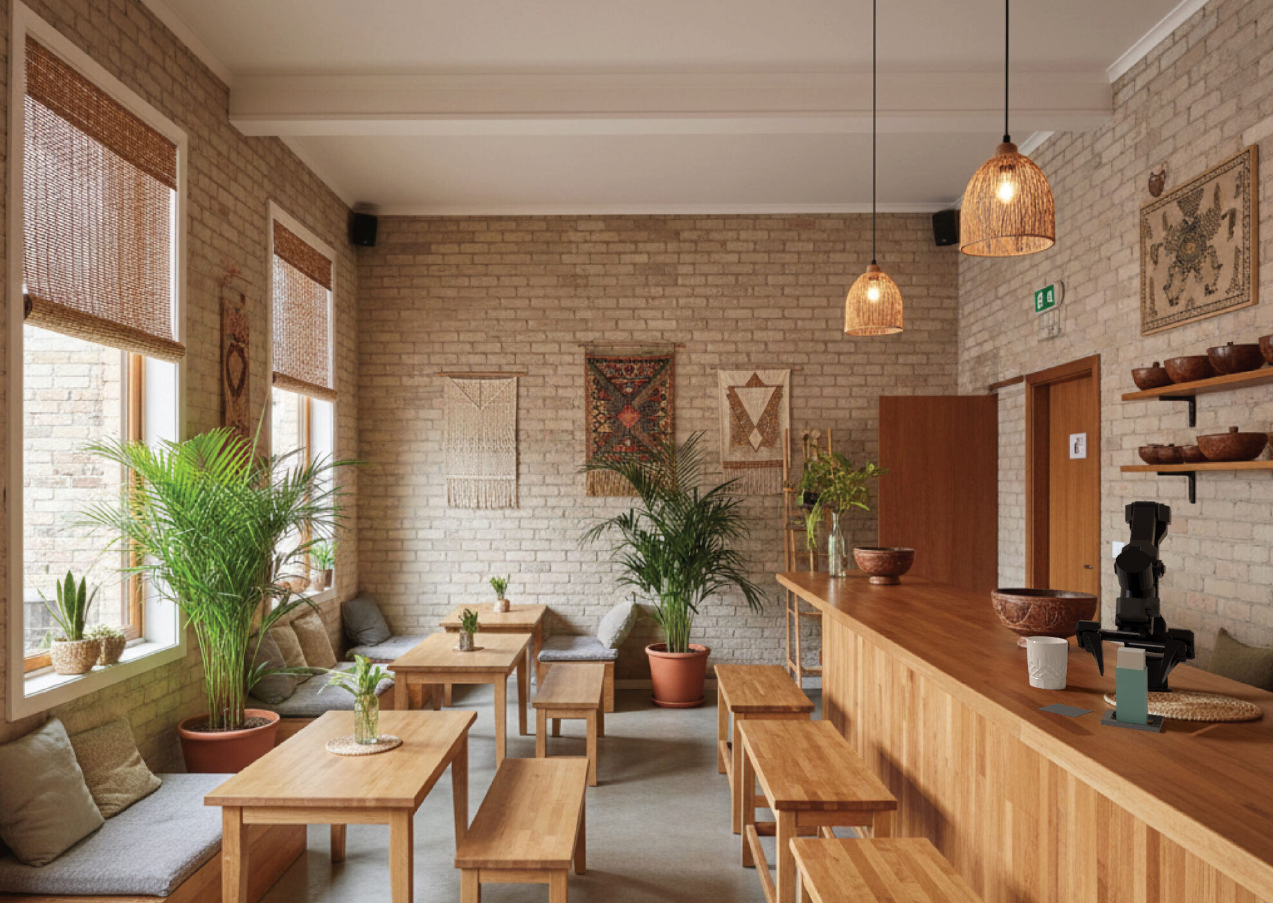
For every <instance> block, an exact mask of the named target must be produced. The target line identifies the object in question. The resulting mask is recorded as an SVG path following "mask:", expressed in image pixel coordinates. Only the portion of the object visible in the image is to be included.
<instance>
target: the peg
mask: <svg viewBox="0 0 1273 903" xmlns="http://www.w3.org/2000/svg"><path fill="white" fill-rule="evenodd" d="M1116 652H1117V654H1116V657H1117V658H1116V660H1117V663H1116V666H1115V706H1116V707H1115V708H1116V709H1115V710H1116V716H1115V717H1116V719H1115V720H1120V721H1127V722H1134V723H1141V724H1148V723H1149V720H1148V714H1149V701H1148V700H1149V697H1148V696H1149V693H1148V692H1149V690H1148V682H1147V666H1145V649H1136V648H1126V647H1124V646H1119V647H1118V649H1117V651H1116Z"/></svg>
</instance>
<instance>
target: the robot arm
mask: <svg viewBox="0 0 1273 903" xmlns="http://www.w3.org/2000/svg"><path fill="white" fill-rule="evenodd" d="M1124 523H1126V525H1129V526H1128V527H1129V531H1130V538H1129V543H1127V544H1126V545H1124V546H1122V547H1121V550H1120V553H1119V554H1118V555H1117V556H1116V557H1115V561H1114V562H1113V569H1114V574H1115V575H1116V576H1117V580H1118V581H1117V583H1118V585H1119V587H1120V595H1119V597H1116V600H1115V615H1114V625H1115V627H1116V629H1108V628H1107V629H1105V628H1102V626H1101V621H1099V620H1098V621H1096V620H1086V619H1085V620H1083V619H1080V620H1078V621H1077V622H1076V623H1075V628H1074V632H1075V636H1076V641H1077V646H1078V647H1079V648H1080V649H1082V650H1083V649H1084V650H1085V652H1087V653H1090V654H1091V655H1092V656H1093V658H1094V660H1095V662H1096V665H1097V668H1098V671H1099V676H1101V677H1104V674H1105V662H1104V661H1105V658H1104V657H1105V656H1104V648H1103V641H1105V642H1113V643H1114V642H1116V643H1123V647H1126V648H1136V649H1145V666H1147V682H1148V691H1155V690H1161V691H1160V692H1164V691H1165V692H1172V691H1173V689H1172V688H1171V687H1170V686H1169V675H1170V673H1171V672H1172V671H1173V669H1175V668H1176V667H1177V666H1178V665H1179V663H1186V662H1187V660H1195V659H1196V639H1195V636H1196V635H1195V632H1194V631H1193V630H1192V629H1190V628H1180V627H1179V628H1178V627H1168V624H1167V623H1166V619H1164V617H1163V615H1162V614H1161V597H1160V579H1163V577H1164V575H1165V574H1166V572H1167V566H1166V565H1165V564H1164V562H1163V559H1160V545H1161V544H1162V543H1163V541H1164V540H1165V538H1166V537H1167V536H1168V534H1169V526H1172V508H1171V506H1170V505H1166V504H1165V503H1163V502H1156V501H1155V500H1154V501H1153V500H1135V501H1131V503H1128V504H1125V505H1124Z"/></svg>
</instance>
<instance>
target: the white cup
mask: <svg viewBox="0 0 1273 903" xmlns="http://www.w3.org/2000/svg"><path fill="white" fill-rule="evenodd" d="M1025 640H1026V656H1027V658H1026V659H1027V668H1028V669H1027V670H1028V677H1029V678H1028V679H1029V685H1030V686H1031V687H1034V688H1039V689H1043V690H1064V689H1066V688H1067V678H1066V677H1067V673H1068V672H1067V671H1068V670H1067V669H1068V648H1069V647H1068V646H1069V642H1068V640H1067V639H1064V638H1059V637H1054V636H1053V637H1052V636H1040V635H1039V636H1028V637H1026V639H1025Z"/></svg>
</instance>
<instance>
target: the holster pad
mask: <svg viewBox="0 0 1273 903" xmlns="http://www.w3.org/2000/svg"><path fill="white" fill-rule="evenodd" d="M1038 710H1040V711H1042V712H1043V711H1045V712H1048V713H1053V714H1056V715H1062V716H1066V717H1070V718H1077V717H1080V716H1084V715H1087V714H1090V713H1094V710H1089V709H1085V708H1082V707H1081V708H1080V707H1076V706H1072V705H1068V704H1066V705H1065V704H1063V703H1056V702H1055V703H1053V704H1049V705H1046V706H1043V707H1039V708H1038Z"/></svg>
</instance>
